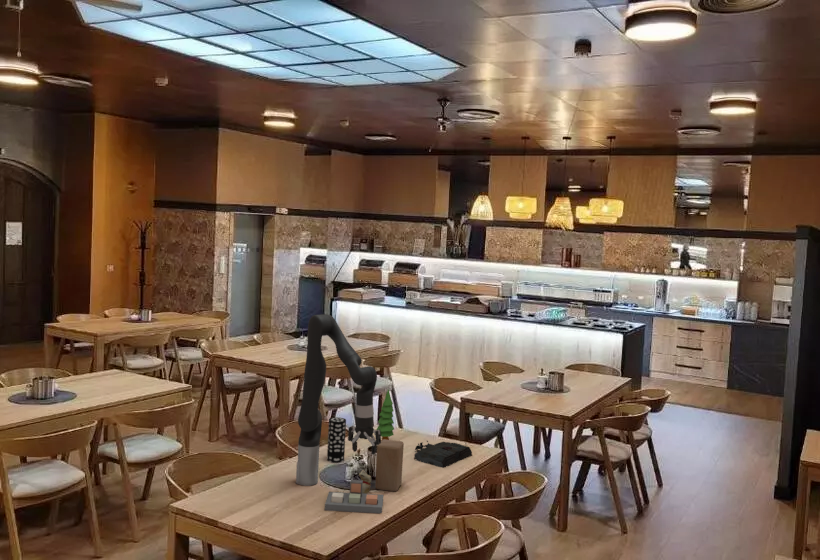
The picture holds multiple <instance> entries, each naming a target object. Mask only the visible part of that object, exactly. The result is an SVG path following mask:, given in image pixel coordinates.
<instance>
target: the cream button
mask: <svg viewBox="0 0 820 560" xmlns="http://www.w3.org/2000/svg"><path fill="white" fill-rule="evenodd" d="M332 492H333V494H332V500H331V502H336V503H343V495H344V493H334V492H335V491H332Z"/></svg>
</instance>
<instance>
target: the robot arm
mask: <svg viewBox="0 0 820 560" xmlns="http://www.w3.org/2000/svg"><path fill="white" fill-rule="evenodd" d="M307 324H308V325H307V348H306V359H305V366H304V374H303V385H302V386H303V387H302V400H301V404H300V410H299V413H298V417H297V423H298V426H299V428H300V432H299V436H298V447H297V450H298V451H297V462H296V469H295V470H296V473H295V484H296V485H301V486H307V487H308V486H314V485H317V484H318V481H319V464H320V463H319V461H320V460H319V459H320V442H321V437H322V424H323V415H322V412H321V411H320V410H319V405H320V403H319V402H320V398H321V394H322V392H323V389H324V385H325V381H326V380H325V379H326V376H327V362H326V360H325V356H324V354H323V352H322V338H323V336H324V337H325V336H326V337H329V338H330V339H331V341H332V342H333V343H334V346H335V350H336V355H337V356H338V358H339V359H340V361H341V362H342V363H343V365H344V366H345V367H346V368H347V371H348V373H349V376H350V378H351V380H352V381H353V383H354V384H355V385H358V386H362V387H360V389H358V390H356V395H355V411H354V413H355V418H354V419H355V426H354V425H350V426H349V427H348V431H347V441H348V442H350V443H351V444H352V446H351V449H352V451H353V452H354V453H356V452H357V451H358V442H357V441H359V439H361V440H363V439H364V440H368V442H370V444H371V455H375V454H377V446H378V445H379V444H380V443H381V440H382V436H381V432H380V430H377V429H375V428H374V415H375V413H374V412H375V411H374V392H375V389H376V388H375V387H376V384H377V380H378V374H377V370H376V369H375V368H374V367H373V366H371V365H369V366H368V365H367V366H363V367H360V366H361V364H362V361H363V360H362V358H361V356H360V355H359V354H358V352H356V350H355V349H354V348H353V346H352V345H351V344H350V343H349V341H348V340H347V338H346V337H345V335H344V333H343V331H342V329H341V327H340V325H339V324H338V322H337V321H336V319H335V318H334V317H333V316H332V315H330V314H327V313H326V314H325V313H324V314H314V315H312V316H311V317H310V318H309V319H308V323H307ZM354 432H355V433H356V434H355V435H354Z"/></svg>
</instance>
